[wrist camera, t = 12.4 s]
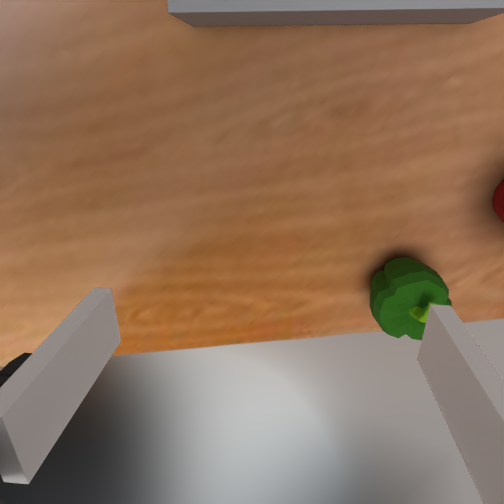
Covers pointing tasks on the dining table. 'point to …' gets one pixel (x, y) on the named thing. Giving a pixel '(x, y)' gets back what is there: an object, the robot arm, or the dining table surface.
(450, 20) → the tray
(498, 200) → the plastic cup
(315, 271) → the dining table surface
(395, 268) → the bell pepper
